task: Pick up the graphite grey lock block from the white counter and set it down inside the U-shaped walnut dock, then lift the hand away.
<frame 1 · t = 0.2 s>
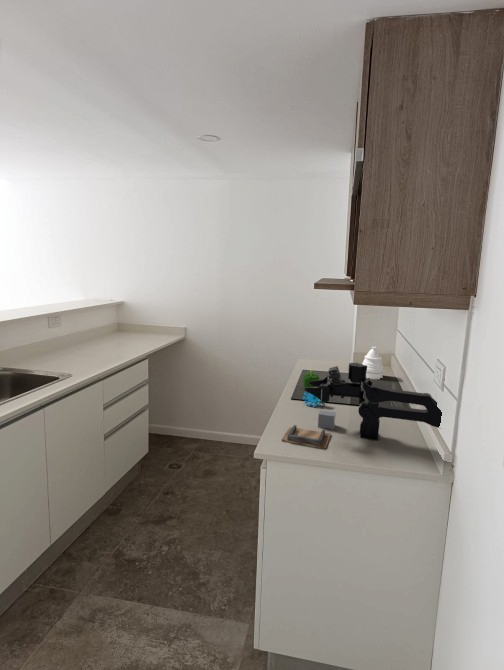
hand: (307, 385, 166), 16 cm above the countertop, tool horizontal, fingers open, 9 cm apart
dock: (306, 438, 157), on the countertop
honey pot: (371, 376, 249), on the countertop
lock block: (326, 426, 169), on the countertop
blue splash shape: (314, 405, 194), on the countertop
bell pepper: (310, 389, 217), on the countertop
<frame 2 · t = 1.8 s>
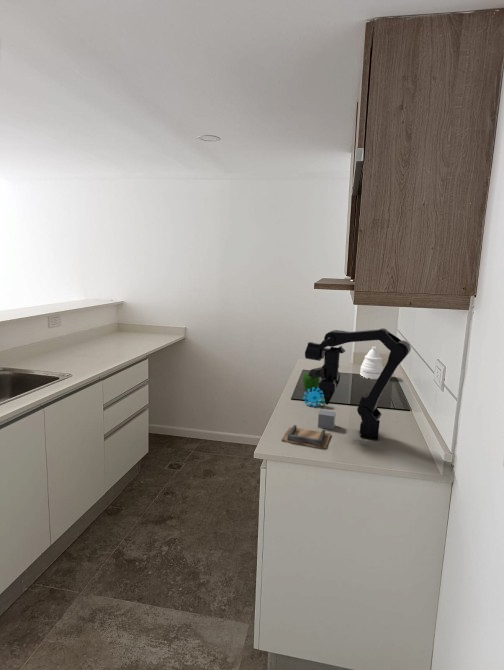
hand: (328, 400, 168), 11 cm above the countertop, tool pointing down, fingers open, 9 cm apart
nothing on the countertop moved.
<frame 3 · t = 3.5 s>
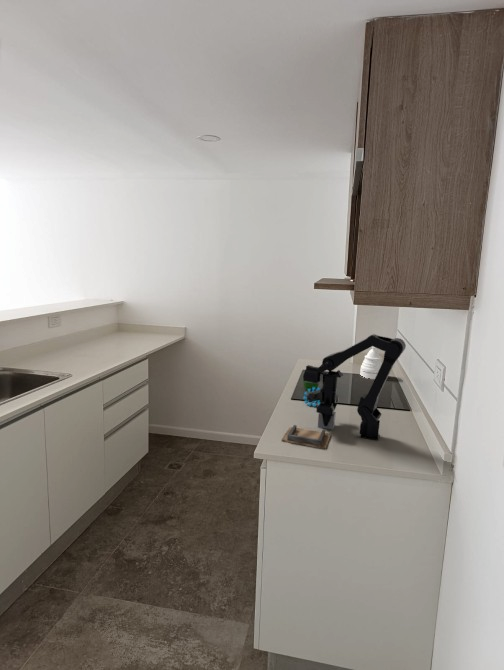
hand: (326, 423, 169), 1 cm above the countertop, tool pointing down, fingers closed on lock block, 5 cm apart
lock block: (326, 426, 169), on the countertop, touching gripper
everything else where it was.
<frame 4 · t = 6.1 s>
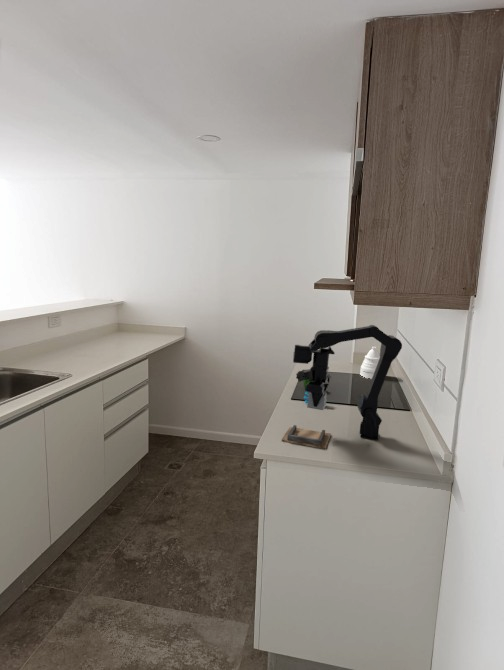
hand: (316, 404, 161), 11 cm above the countertop, tool pointing down, fingers closed on lock block, 5 cm apart
lock block: (316, 406, 161), point 10 cm above the countertop, touching gripper
everything else where it was.
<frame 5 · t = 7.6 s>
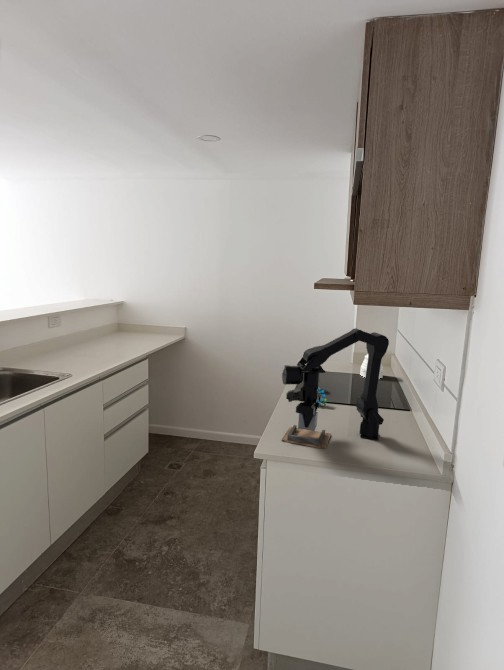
hand: (307, 424, 156), 5 cm above the countertop, tool pointing down, fingers closed on lock block, 5 cm apart
lock block: (307, 427, 156), point 4 cm above the countertop, touching gripper
everything else where it was.
when the fingers open (3 cm above the countertop, at t = 8.8 s): lock block drops 1 cm, resting on dock.
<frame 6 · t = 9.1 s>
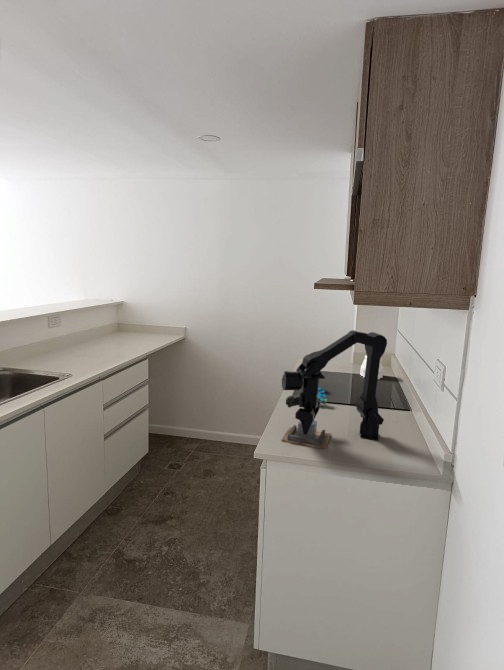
hand: (307, 430, 156), 3 cm above the countertop, tool pointing down, fingers open, 8 cm apart
lock block: (306, 436, 157), point 1 cm above the countertop, touching dock
everything else where it was.
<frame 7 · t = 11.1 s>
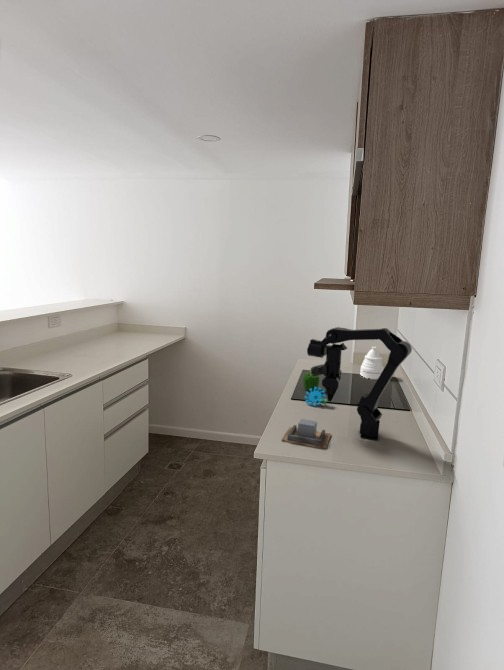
hand: (330, 397, 168), 12 cm above the countertop, tool pointing down, fingers open, 9 cm apart
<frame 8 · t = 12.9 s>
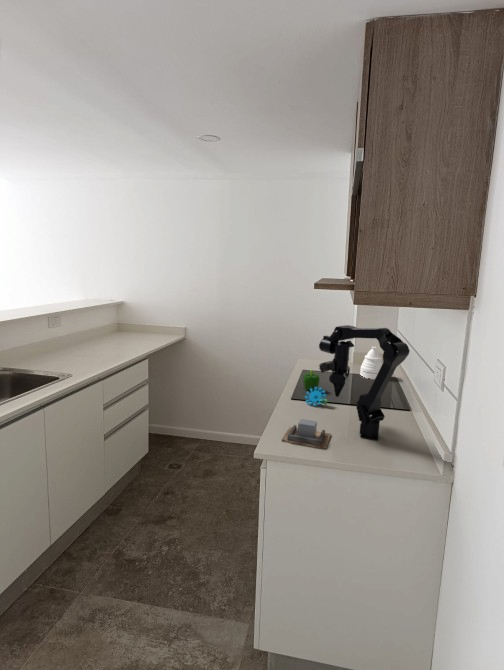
hand: (338, 393, 173), 12 cm above the countertop, tool pointing down, fingers open, 9 cm apart
at the end: lock block 0.1 cm off-centre on the dock, point 0.6 cm above the dock's base; lock block tilted 0°; the gripper is holding nothing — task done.
